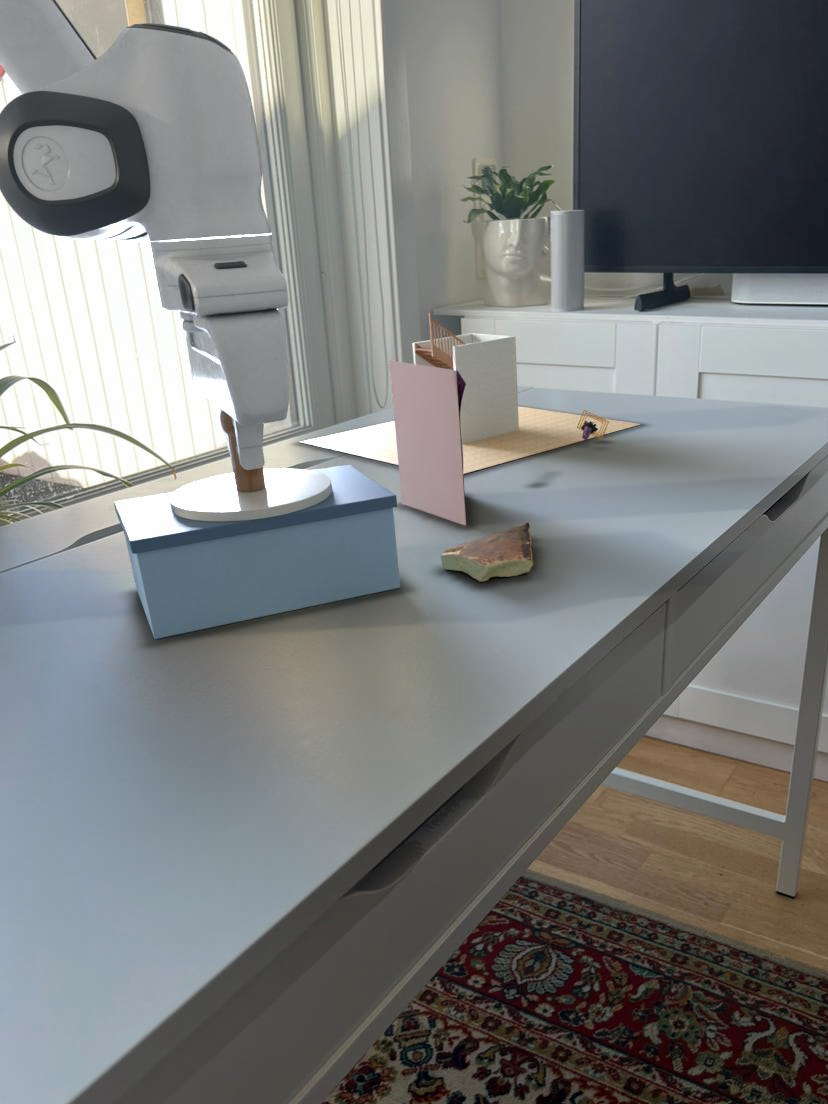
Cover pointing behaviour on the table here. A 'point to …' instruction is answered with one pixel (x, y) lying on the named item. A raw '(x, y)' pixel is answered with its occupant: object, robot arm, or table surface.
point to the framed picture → (591, 426)
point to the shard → (492, 555)
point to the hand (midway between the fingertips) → (247, 462)
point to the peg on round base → (249, 490)
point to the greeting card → (429, 438)
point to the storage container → (260, 556)
